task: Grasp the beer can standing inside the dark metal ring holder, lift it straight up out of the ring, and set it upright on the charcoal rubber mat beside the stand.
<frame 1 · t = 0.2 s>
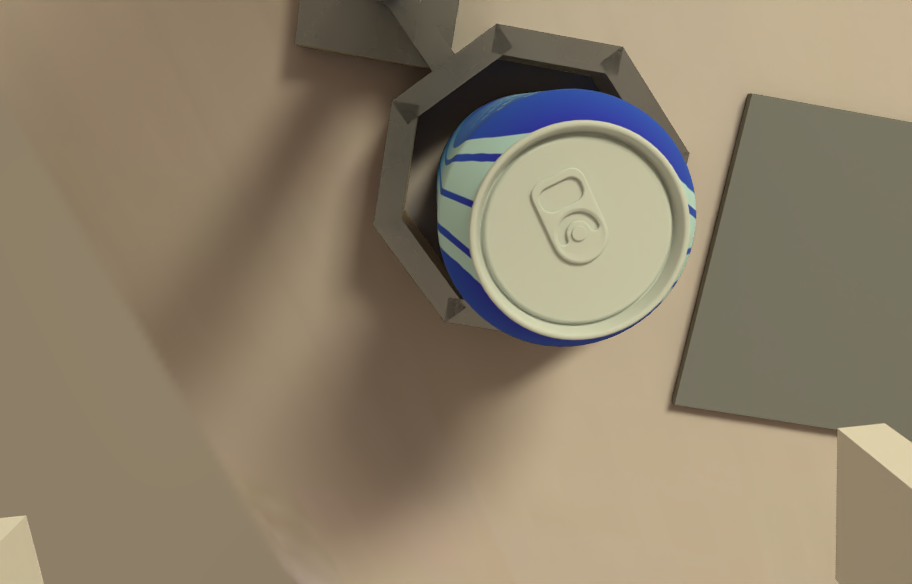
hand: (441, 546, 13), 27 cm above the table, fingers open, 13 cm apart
rubber mat: (858, 279, 40), on the table
beer can: (521, 181, 39), resting in ring stand
ring stand: (522, 182, 39), on the table
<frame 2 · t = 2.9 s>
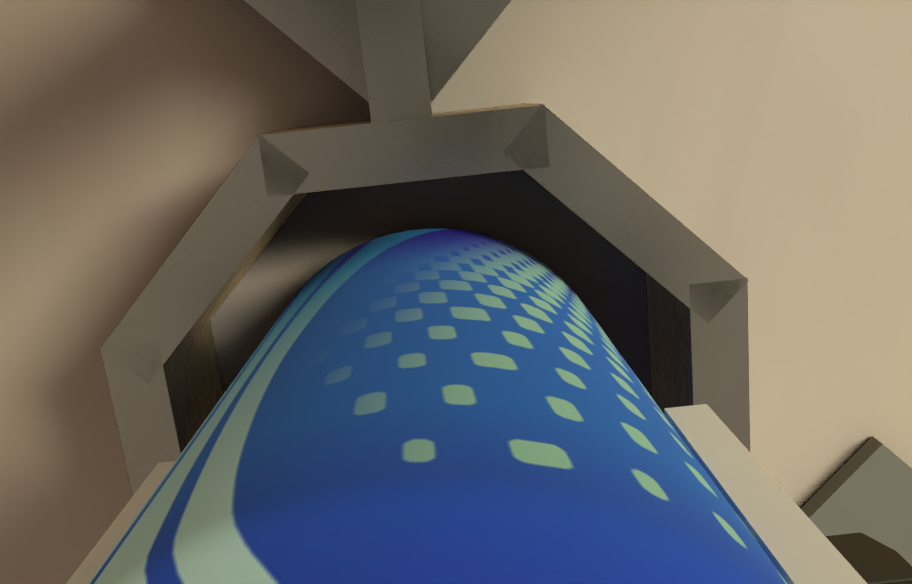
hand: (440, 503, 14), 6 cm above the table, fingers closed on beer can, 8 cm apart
beer can: (436, 378, 20), resting in ring stand, touching gripper
ring stand: (437, 381, 20), on the table
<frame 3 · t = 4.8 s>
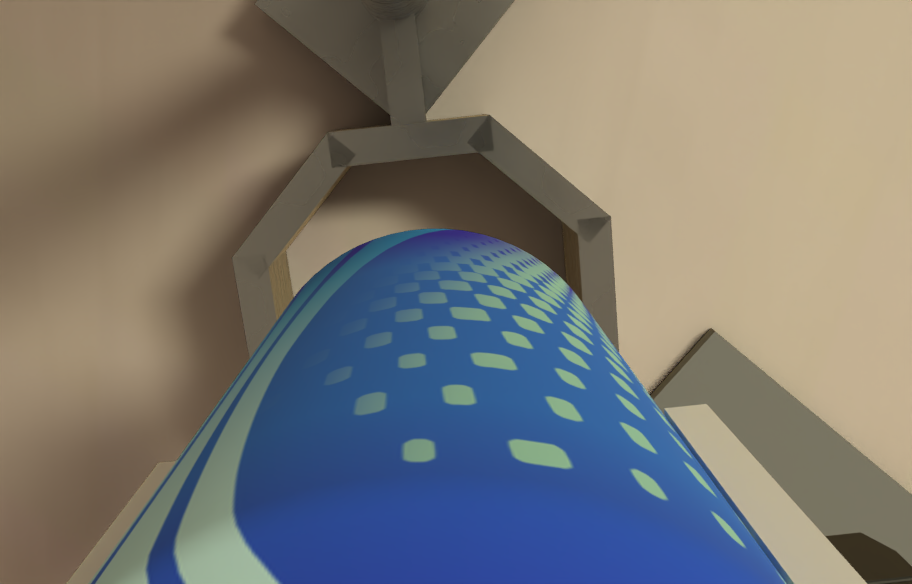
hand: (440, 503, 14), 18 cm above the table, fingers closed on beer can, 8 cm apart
rubber mat: (718, 571, 35), on the table
beer can: (436, 378, 20), point 11 cm above the table, touching gripper
ring stand: (430, 291, 32), on the table
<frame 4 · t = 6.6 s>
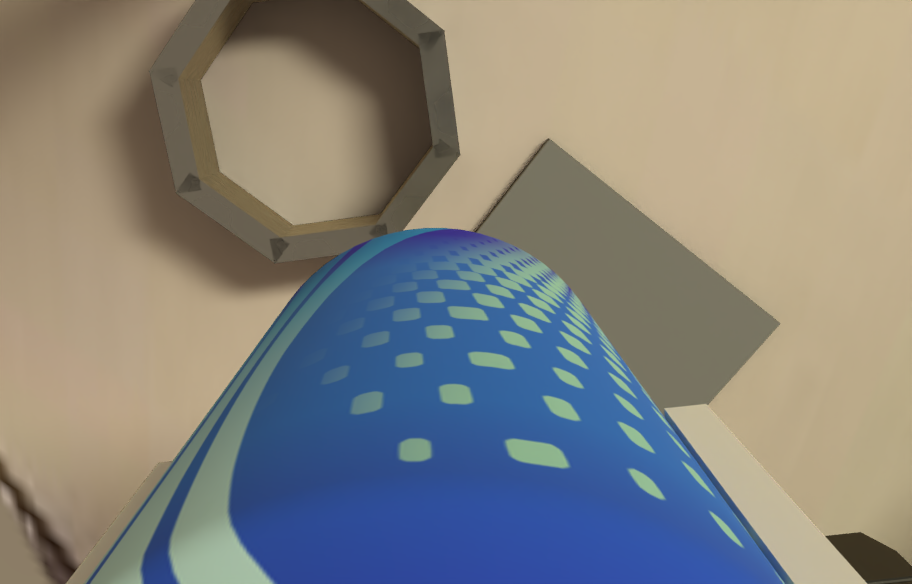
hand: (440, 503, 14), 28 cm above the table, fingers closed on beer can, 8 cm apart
rubber mat: (569, 348, 43), on the table
beer can: (435, 378, 20), point 21 cm above the table, touching gripper
ring stand: (318, 111, 39), on the table
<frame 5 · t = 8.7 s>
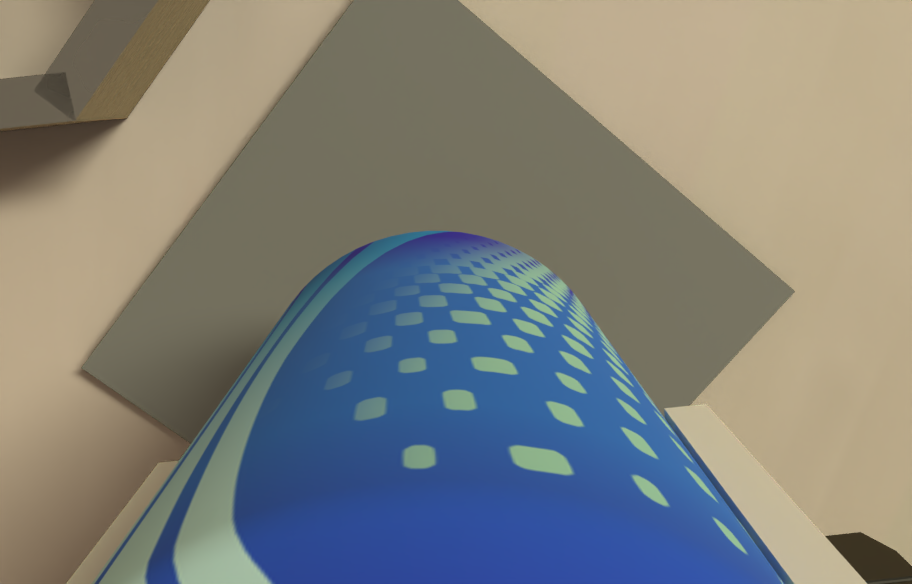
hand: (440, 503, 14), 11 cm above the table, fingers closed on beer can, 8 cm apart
rubber mat: (438, 325, 25), on the table
beer can: (436, 380, 20), point 5 cm above the table, touching gripper
when the fingers open (7 cm above the table, at t = 10.2 s): beer can stays where it is, resting on rubber mat.
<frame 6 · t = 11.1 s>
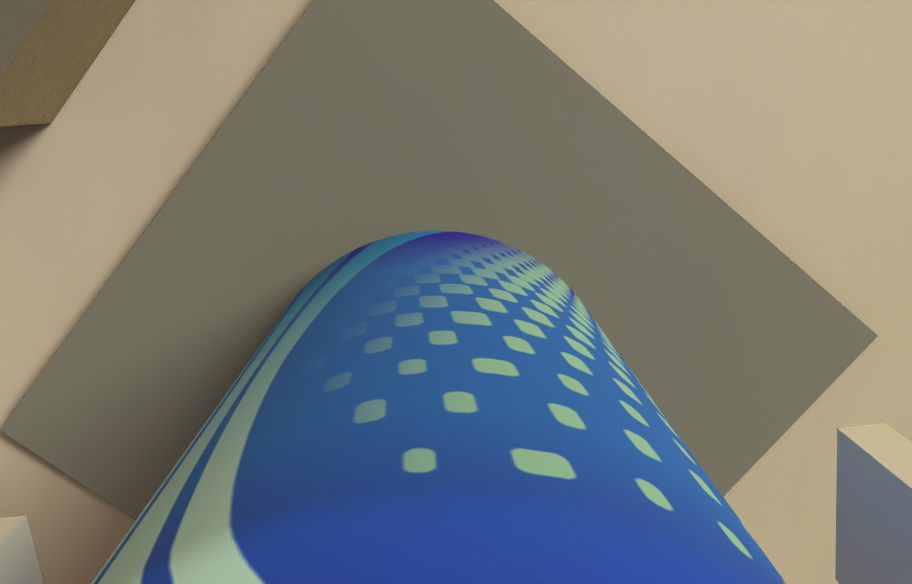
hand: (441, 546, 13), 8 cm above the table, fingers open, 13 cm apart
rubber mat: (438, 376, 21), on the table
beer can: (437, 381, 20), resting on rubber mat
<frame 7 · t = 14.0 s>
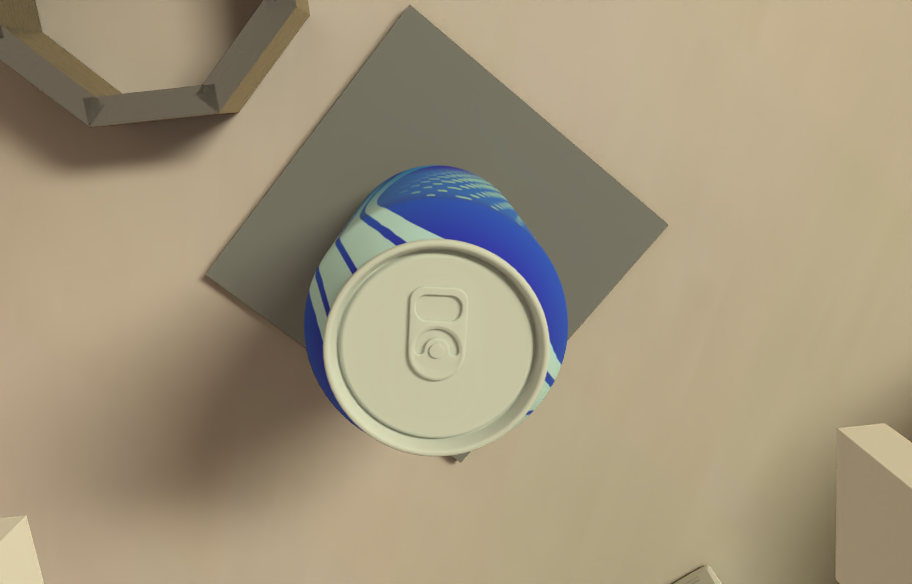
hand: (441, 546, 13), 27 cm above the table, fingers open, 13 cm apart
rubber mat: (437, 247, 39), on the table
beer can: (436, 249, 38), resting on rubber mat
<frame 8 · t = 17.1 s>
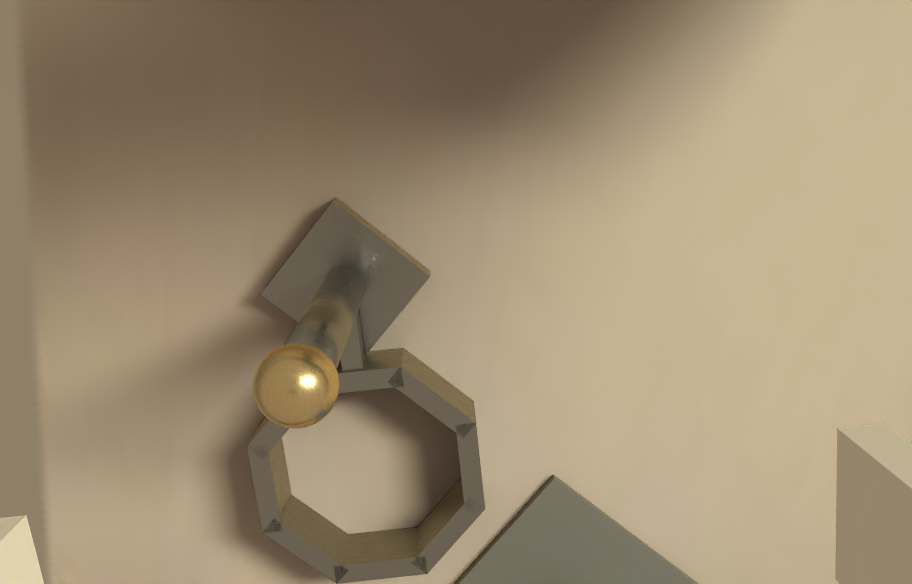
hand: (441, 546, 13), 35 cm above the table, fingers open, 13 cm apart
ring stand: (372, 453, 50), on the table
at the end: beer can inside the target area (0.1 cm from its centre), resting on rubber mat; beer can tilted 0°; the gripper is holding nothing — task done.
